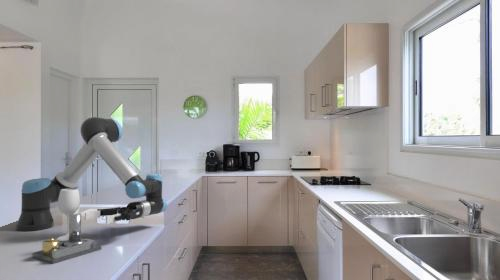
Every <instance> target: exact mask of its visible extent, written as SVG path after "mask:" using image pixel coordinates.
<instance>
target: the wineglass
mask: <svg viewBox="0 0 500 280" xmlns="http://www.w3.org/2000/svg"><path fill="white" fill-rule="evenodd" d="M57 204H58V206H57V207H58V210H59V211H60V213H61V214H63V215H65V216H66V219H67V226H66V234H63V235H60V236H58V237H57V238H56V240H59V242H63V241H67V240H69V215H70V214H76V213H77V212H78V210H79V208H80V204H81V196H80V191H79V188H77V189H75V188H72V189H62V190H61V191H60V194H59V199H58V202H57Z"/></svg>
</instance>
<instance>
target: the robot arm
mask: <svg viewBox="0 0 500 280" xmlns="http://www.w3.org/2000/svg"><path fill="white" fill-rule="evenodd" d="M80 136H81V137H82V139H83V141H84V144H83V145H82V146H81V148H80V149H79V150H78V151H77V153H76V154H75V155H74V157H73V158H72V159H71V161H70V162H69V164H68V165H66V167H65V168H64V169H63V171H62V172H58V173H56V174H55V176H54V177H53V179H51V178H49V177H40V178H34V179H33V178H32V179H28V180H26V181H23V183H22V186H21V187H22V188H21V208H20V209H21V211H20V212H21V213H20V215H19V217H18V220H17V222H16V225H15V226H16V228H15V229H16V231H20V232H32V230H34V231H42V230H46V229H51V228H52V227H54V225H55V220H54V217H53V215H52V213H51V204H53V203H58V199H59V194H60V191H61V190H62V189H72V188H75V189H79V179H81V177H82V176H83V175H84V173H85V172H86V171H87V170H88V168H89V167H90V166H91V165H92V164H93V162H94V161H95V159H96V158H97V157H98V156H100V157H101V159H102V160H103V161H104V163H105V164H106V165H107V167H109V169H110V170H111V171H112V172H113V173H114V174H115V175H116V177H117V178H118V179H119V180H120V182H121V183H122V184H123V186H125V195H126V196H127V197H128V198H130V199H140V198H143V197H145V199H143V200H137V201H132V202H129V203H128V204H127V205H126V206H122V207H121V206H118V207H110V208H109V207H108V208H99V209H96V210H93V211H87V212H84V220H91V219H94V218H95V219H96V218H98V219H99V218H101V217H105V224H112V223H116V222H119V221H130V220H134V219H135V220H136V219H139V218H141V219H143V218H144V217H147V216H148V217H149V216H153V215H158V214H160V213H164V212H165V211H166V209H167V207H168V203H167V200H166V199H165V198H164V197H163V175H161V174H159V173H150V174H147V175H146V178H145V179H143V178H142V177H141V176H140V175H139V173H137V171H136V170H135V169H134V168H133V166H132V165H131V164H130V163H129V162H128V161H127V159H126V158H125V157H124V155H122V153H121V152H120V151H119V150H118V149H117V147H116V146H114V144H113V143H115V142H118V141H120V139H121V138H122V136H123V127H122V125H121V124H120V122H118V120H114V119H112V118H103V117H97V116H91V117H89V118H86V119H85V120H84V121H83V122H82V123H81V124H80Z"/></svg>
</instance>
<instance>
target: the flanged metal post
mask: <svg viewBox="0 0 500 280" xmlns="http://www.w3.org/2000/svg"><path fill="white" fill-rule="evenodd" d="M81 237H82V213H74V214H70V215H69V240H67V241H65V242H64V247H67V246H71V245H75V244H79V243H83V242H85V239H86V238H81Z"/></svg>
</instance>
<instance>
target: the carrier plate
mask: <svg viewBox="0 0 500 280" xmlns="http://www.w3.org/2000/svg"><path fill="white" fill-rule="evenodd" d="M84 239H85V242H83V243H79V244H75V245H71V246H67V247H64V242H65V241H59V240H57V239H55V238H54V237H49V238H47V239H46V240H44V241H42V246H41V248H42V249H41V250H38V251H35V252H32V253H31V254H32V258H34V259H37V260H40V261H44V262H46V263H49V264H53V265H54V264H57V263H58V264H59V263H60V262H64V261H66V260H68V261H69V260H70V259H73V258H74V259H75V258H77V257H81V256H83V255H88V254H91V253H93V252H97V251H100V250H102V244H97V243H94V240H93V239H91V238H90V239H89V238H84Z"/></svg>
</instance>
